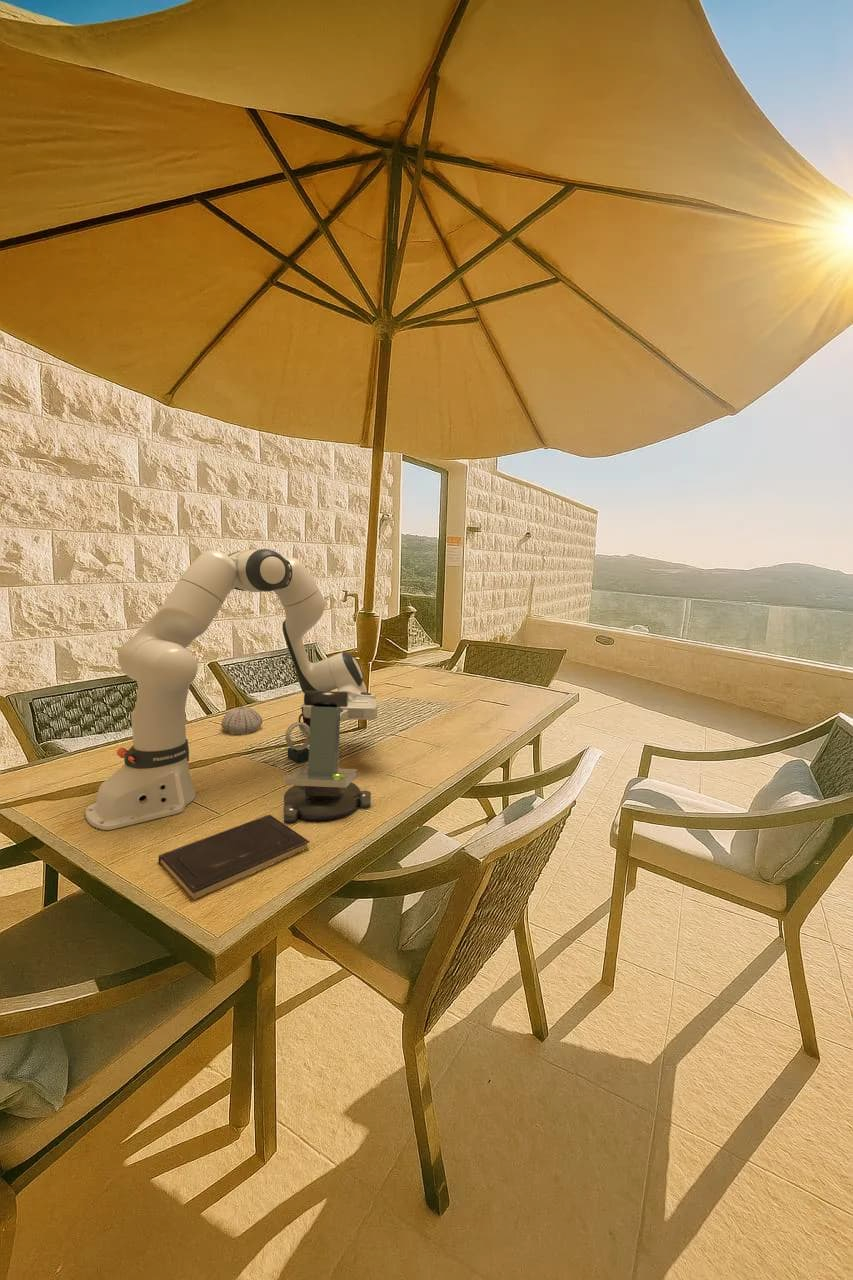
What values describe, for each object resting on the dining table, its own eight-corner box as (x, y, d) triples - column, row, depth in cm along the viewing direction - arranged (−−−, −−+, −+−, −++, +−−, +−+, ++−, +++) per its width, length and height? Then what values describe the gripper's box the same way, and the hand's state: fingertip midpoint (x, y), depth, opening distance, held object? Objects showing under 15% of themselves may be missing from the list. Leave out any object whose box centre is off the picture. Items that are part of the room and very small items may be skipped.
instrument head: (301, 772, 128) (306, 689, 129) (356, 775, 128) (360, 691, 129) (284, 785, 114) (289, 691, 115) (346, 787, 114) (350, 693, 115)
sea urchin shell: (253, 721, 183) (252, 700, 182) (268, 731, 173) (268, 708, 172) (215, 728, 175) (214, 706, 173) (229, 739, 164) (228, 715, 163)
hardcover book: (309, 851, 102) (309, 840, 102) (193, 904, 86) (193, 891, 85) (268, 822, 113) (268, 813, 113) (158, 864, 96) (158, 853, 96)
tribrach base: (298, 783, 132) (298, 763, 131) (376, 787, 131) (376, 767, 131) (271, 823, 112) (270, 799, 111) (363, 827, 111) (363, 803, 110)
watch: (316, 758, 150) (316, 722, 148) (292, 765, 144) (291, 728, 143) (305, 753, 154) (305, 718, 152) (282, 759, 148) (281, 723, 147)
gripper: (310, 692, 146) (295, 705, 132) (380, 694, 145) (373, 707, 131) (310, 713, 147) (296, 728, 133) (380, 715, 146) (373, 731, 132)
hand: (335, 718), depth 132 cm, fingers closed
